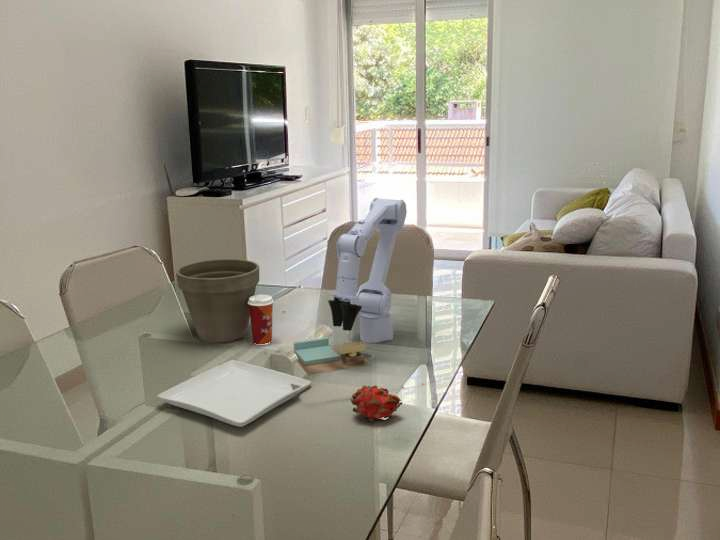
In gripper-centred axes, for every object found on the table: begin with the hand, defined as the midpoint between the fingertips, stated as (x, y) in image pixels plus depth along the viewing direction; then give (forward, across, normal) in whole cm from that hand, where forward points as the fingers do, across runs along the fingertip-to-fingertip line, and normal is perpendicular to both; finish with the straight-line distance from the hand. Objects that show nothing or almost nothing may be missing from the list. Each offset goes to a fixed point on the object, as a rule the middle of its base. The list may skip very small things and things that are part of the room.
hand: (342, 328), depth 189 cm
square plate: (+19, +7, -28) cm, 35 cm away
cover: (+9, -7, -4) cm, 12 cm away
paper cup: (+9, -28, -14) cm, 33 cm away
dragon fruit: (+17, +29, 0) cm, 33 cm away
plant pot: (+9, -39, -24) cm, 47 cm away
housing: (+11, -5, 0) cm, 12 cm away
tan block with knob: (+9, 0, +4) cm, 10 cm away
